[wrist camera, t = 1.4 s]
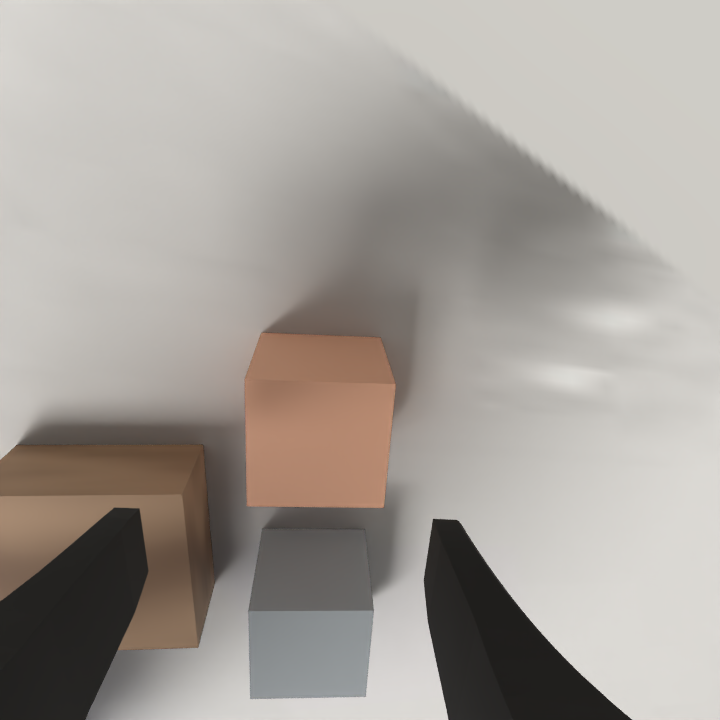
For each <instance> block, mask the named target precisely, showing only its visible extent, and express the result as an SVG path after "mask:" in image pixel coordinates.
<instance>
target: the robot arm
mask: <svg viewBox="0 0 720 720" xmlns="http://www.w3.org/2000/svg"><path fill="white" fill-rule="evenodd" d="M148 571H149V570H148V563H147V556H146V549H145V542H144V536H143V529H142V522H141V515H140V508H116V507H114V508H113V509H112V510H111V511H109V512H108V513H107V514H106V515H105V516H103V517H102V518H101V519H100V520H99V521H98V522H96V523H95V524H94V525H93V526H92V527H91V528H89V529H88V530H87V531H86V532H85V533H84V534H83V535H81V536H80V537H79V538H78V539H77V540H76V541H74V542H73V543H72V544H71V545H70V546H69V547H67V548H66V549H65V550H64V551H63V552H62V553H60V554H59V555H58V556H57V557H56V558H54V559H53V560H52V561H51V562H50V563H48V564H47V565H46V566H45V567H44V568H42V569H41V570H40V571H39V572H38V573H36V574H35V575H34V576H32V577H31V578H30V579H29V580H27V581H26V582H25V583H23V584H22V585H21V586H20V587H18V588H17V589H16V590H14V591H13V592H12V593H10V594H9V595H8V596H7V597H5V598H4V599H3V600H1V601H0V720H85V719H86V716H87V714H88V712H89V709H90V707H91V705H92V703H93V701H94V699H95V697H96V694H97V692H98V690H99V688H100V686H101V684H102V682H103V680H104V678H105V675H106V673H107V671H108V669H109V667H110V665H111V663H112V661H113V659H114V656H115V654H116V652H117V650H118V648H119V646H120V644H121V642H122V639H123V637H124V635H125V633H126V631H127V629H128V627H129V624H130V622H131V620H132V618H133V616H134V613H135V611H136V608H137V605H138V602H139V599H140V596H141V593H142V590H143V587H144V584H145V581H146V578H147V575H148ZM424 587H425V598H426V608H427V617H428V624H429V629H430V634H431V638H432V643H433V648H434V653H435V658H436V662H437V667H438V672H439V676H440V681H441V686H442V690H443V695H444V700H445V704H446V709H447V714H448V719H449V720H632V719H630V718H629V717H628V716H627V715H626V714H624V713H623V712H622V711H621V710H620V709H619V708H617V707H616V706H615V705H614V704H613V703H612V702H611V701H609V700H608V699H607V698H606V697H605V696H604V695H603V694H602V693H601V692H600V691H598V690H597V689H596V688H595V687H594V686H593V685H592V684H591V683H590V682H589V681H587V680H586V679H585V678H584V677H583V676H582V675H581V674H580V673H579V672H578V671H577V670H576V669H575V668H574V667H573V666H572V665H571V664H570V663H569V662H568V661H567V660H566V659H565V658H564V657H563V656H562V655H561V654H560V653H559V652H558V651H557V650H556V649H555V648H554V647H553V646H552V644H551V643H550V642H549V641H548V640H547V639H546V638H545V637H544V636H543V635H542V633H541V632H540V631H539V630H538V629H537V628H536V627H535V625H534V624H533V623H532V622H531V621H530V620H529V618H528V617H527V616H526V615H525V613H524V612H523V611H522V610H521V609H520V607H519V606H518V605H517V604H516V602H515V601H514V600H513V599H512V597H511V596H510V595H509V593H508V592H507V591H506V589H505V588H504V587H503V585H502V584H501V583H500V581H499V580H498V579H497V577H496V576H495V574H494V573H493V572H492V570H491V569H490V567H489V566H488V565H487V563H486V562H485V560H484V559H483V557H482V556H481V554H480V553H479V551H478V550H477V548H476V547H475V545H474V544H473V542H472V541H471V539H470V538H469V536H468V534H467V533H466V531H465V530H464V528H463V526H462V525H461V523H460V522H459V521H458V520H444V519H433V523H432V530H431V536H430V543H429V549H428V556H427V562H426V569H425V576H424Z"/></svg>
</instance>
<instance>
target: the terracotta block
mask: <svg viewBox="0 0 720 720" xmlns="http://www.w3.org/2000/svg"><path fill="white" fill-rule="evenodd" d="M395 388H396V383H395V380H394V377H393V374H392V371H391V368H390V365H389V362H388V359H387V356H386V352H385V349H384V346H383V343H382V340H381V337H358V336H333V335H308V334H283V333H261V335H260V338H259V341H258V343H257V346H256V349H255V352H254V355H253V357H252V360H251V363H250V366H249V369H248V371H247V374H246V377H245V431H246V489H247V506H259V507H347V508H384V501H385V491H386V481H387V470H388V460H389V450H390V439H391V429H392V419H393V408H394V398H395Z"/></svg>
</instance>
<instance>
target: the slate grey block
mask: <svg viewBox="0 0 720 720" xmlns="http://www.w3.org/2000/svg"><path fill="white" fill-rule="evenodd" d="M248 613H249V661H250V699H271V698H324V697H366V687H367V677H368V666H369V655H370V645H371V634H372V624H373V613H374V609H373V599H372V590H371V581H370V572H369V563H368V553H367V544H366V535H365V529H262V534H261V540H260V546H259V552H258V558H257V563H256V569H255V575H254V581H253V587H252V593H251V599H250V605H249V611H248Z"/></svg>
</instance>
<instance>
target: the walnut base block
mask: <svg viewBox="0 0 720 720" xmlns="http://www.w3.org/2000/svg"><path fill="white" fill-rule="evenodd" d="M114 507H116V508H140V515H141V522H142V529H143V536H144V542H145V549H146V556H147V563H148V570H149V571H148V575H147V578H146V581H145V584H144V587H143V590H142V593H141V596H140V599H139V602H138V605H137V608H136V611H135V613H134V616H133V618H132V620H131V622H130V624H129V627H128V629H127V631H126V633H125V635H124V637H123V639H122V642H121V644H120V646H119V648H118V650H142V649H173V648H198V647H199V643H200V639H201V635H202V631H203V627H204V623H205V619H206V615H207V611H208V607H209V603H210V600H211V596H212V592H213V588H214V584H215V580H214V568H213V556H212V544H211V532H210V521H209V509H208V497H207V485H206V473H205V462H204V450H203V445H16V446H15V447H14V448H13V449H12V450H11V451H10V452H9V453H8V454H7V455H5V456H4V457H3V458H2V459H1V460H0V601H1V600H3V599H4V598H5V597H7V596H8V595H9V594H10V593H12V592H13V591H14V590H16V589H17V588H18V587H20V586H21V585H22V584H23V583H25V582H26V581H27V580H29V579H30V578H31V577H32V576H34V575H35V574H36V573H38V572H39V571H40V570H41V569H42V568H44V567H45V566H46V565H47V564H48V563H50V562H51V561H52V560H53V559H54V558H56V557H57V556H58V555H59V554H60V553H62V552H63V551H64V550H65V549H66V548H67V547H69V546H70V545H71V544H72V543H73V542H74V541H76V540H77V539H78V538H79V537H80V536H81V535H83V534H84V533H85V532H86V531H87V530H88V529H89V528H91V527H92V526H93V525H94V524H95V523H96V522H98V521H99V520H100V519H101V518H102V517H103V516H105V515H106V514H107V513H108V512H109V511H111V510H112V509H113V508H114Z"/></svg>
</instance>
